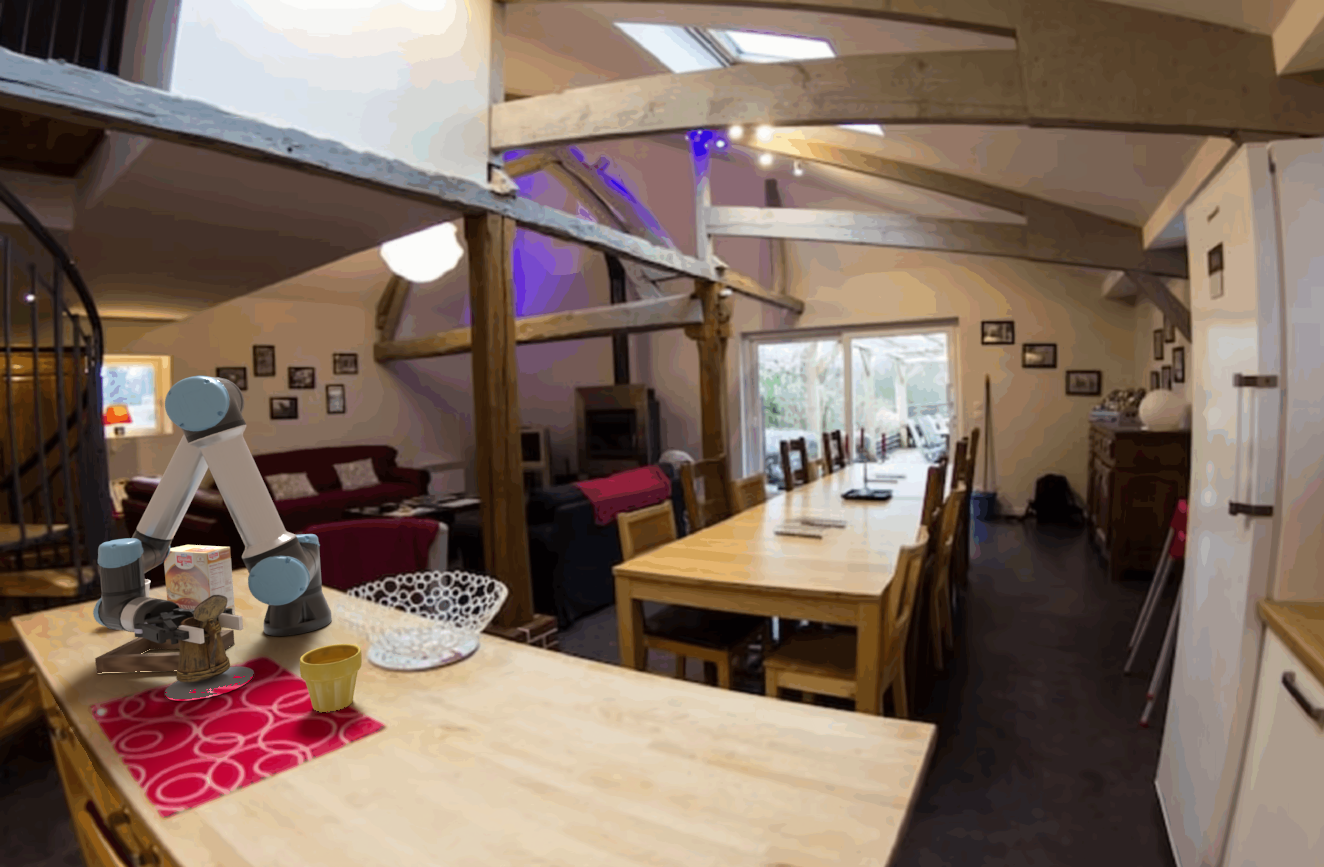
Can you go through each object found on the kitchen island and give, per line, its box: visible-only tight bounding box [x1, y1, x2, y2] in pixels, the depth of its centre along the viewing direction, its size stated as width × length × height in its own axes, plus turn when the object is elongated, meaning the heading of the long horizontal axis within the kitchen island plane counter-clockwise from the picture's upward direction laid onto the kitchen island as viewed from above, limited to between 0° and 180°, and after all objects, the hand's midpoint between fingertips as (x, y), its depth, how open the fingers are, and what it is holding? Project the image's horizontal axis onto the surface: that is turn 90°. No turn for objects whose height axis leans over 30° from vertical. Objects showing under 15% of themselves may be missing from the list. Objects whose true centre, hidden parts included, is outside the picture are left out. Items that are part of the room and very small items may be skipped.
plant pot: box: [299, 643, 363, 713], centre depth 126 cm, size 10×10×10 cm
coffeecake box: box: [163, 544, 236, 615], centre depth 176 cm, size 15×7×20 cm, turn 73°
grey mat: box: [164, 665, 255, 699], centre depth 137 cm, size 15×15×1 cm
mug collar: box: [94, 629, 236, 674], centre depth 152 cm, size 20×15×4 cm
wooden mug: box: [175, 595, 231, 682], centre depth 136 cm, size 9×14×18 cm, turn 55°
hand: (221, 629), depth 135 cm, fingers closed on wooden mug, 7 cm apart
